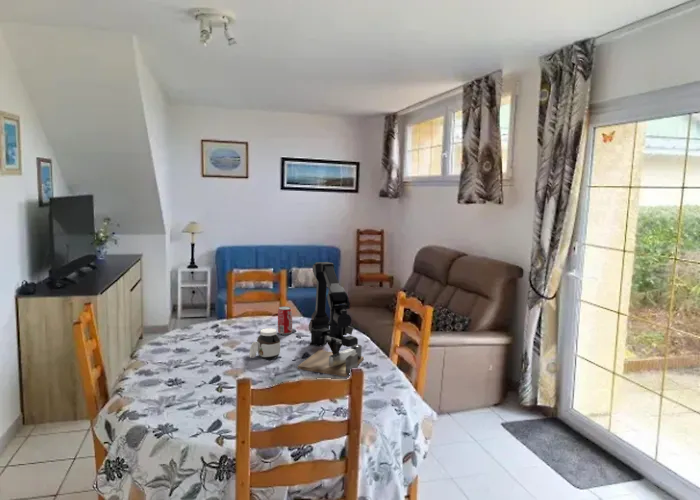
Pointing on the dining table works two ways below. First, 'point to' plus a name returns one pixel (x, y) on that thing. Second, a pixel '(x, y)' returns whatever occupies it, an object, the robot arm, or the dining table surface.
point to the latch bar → (344, 355)
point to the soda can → (284, 320)
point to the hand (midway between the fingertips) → (335, 357)
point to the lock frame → (321, 363)
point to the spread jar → (266, 345)
